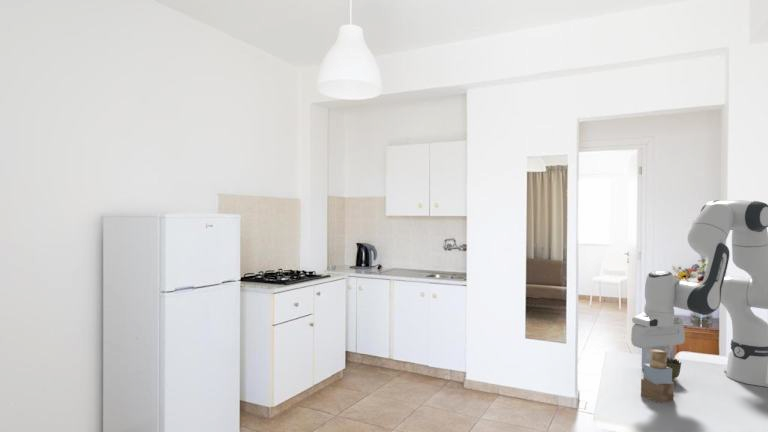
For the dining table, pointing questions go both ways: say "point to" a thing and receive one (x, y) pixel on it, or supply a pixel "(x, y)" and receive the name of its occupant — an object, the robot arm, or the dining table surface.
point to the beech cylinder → (659, 359)
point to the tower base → (657, 391)
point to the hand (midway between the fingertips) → (658, 358)
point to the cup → (674, 367)
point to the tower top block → (657, 375)
